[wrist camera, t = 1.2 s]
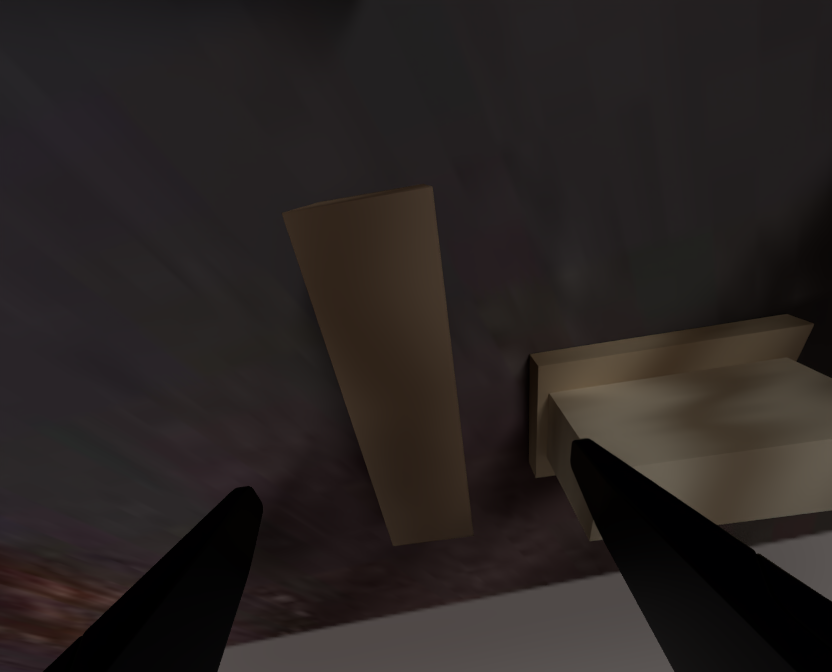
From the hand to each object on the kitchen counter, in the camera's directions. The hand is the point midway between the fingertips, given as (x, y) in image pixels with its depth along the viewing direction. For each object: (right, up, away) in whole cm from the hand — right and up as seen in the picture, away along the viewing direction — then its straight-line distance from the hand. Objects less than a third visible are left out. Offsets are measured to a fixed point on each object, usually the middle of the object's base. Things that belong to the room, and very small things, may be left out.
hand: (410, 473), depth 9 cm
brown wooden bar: (0, +3, +5) cm, 6 cm away
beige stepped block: (+11, +1, +6) cm, 13 cm away
